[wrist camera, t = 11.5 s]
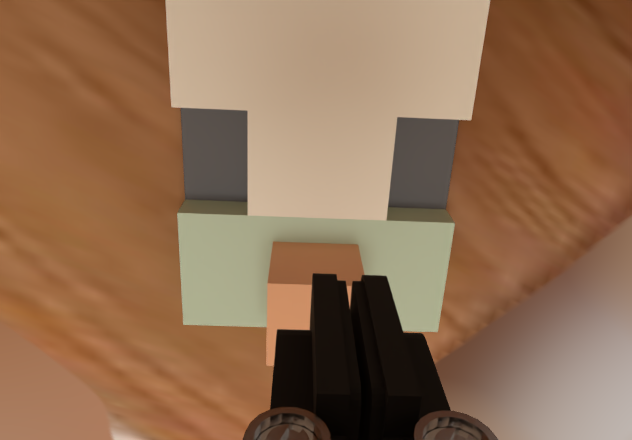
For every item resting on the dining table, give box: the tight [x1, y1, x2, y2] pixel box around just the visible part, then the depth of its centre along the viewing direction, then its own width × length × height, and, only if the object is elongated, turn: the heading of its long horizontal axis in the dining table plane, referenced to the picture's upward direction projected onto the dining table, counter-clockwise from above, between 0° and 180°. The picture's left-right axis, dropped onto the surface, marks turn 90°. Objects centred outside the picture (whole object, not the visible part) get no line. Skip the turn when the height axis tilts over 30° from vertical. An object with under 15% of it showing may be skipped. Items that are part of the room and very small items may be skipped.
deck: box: [166, 0, 490, 332], centre depth 31 cm, size 20×16×2 cm
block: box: [266, 242, 365, 366], centre depth 30 cm, size 5×5×5 cm
